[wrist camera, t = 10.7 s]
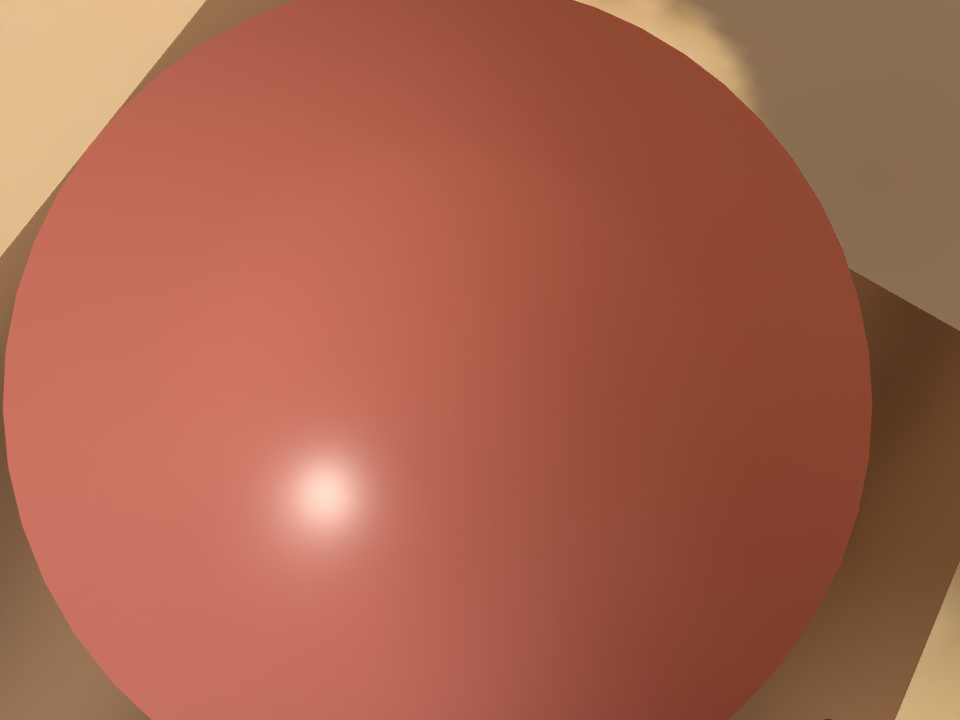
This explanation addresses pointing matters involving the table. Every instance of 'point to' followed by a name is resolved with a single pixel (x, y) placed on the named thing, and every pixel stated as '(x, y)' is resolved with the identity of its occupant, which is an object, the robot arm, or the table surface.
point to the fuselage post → (437, 376)
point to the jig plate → (819, 651)
